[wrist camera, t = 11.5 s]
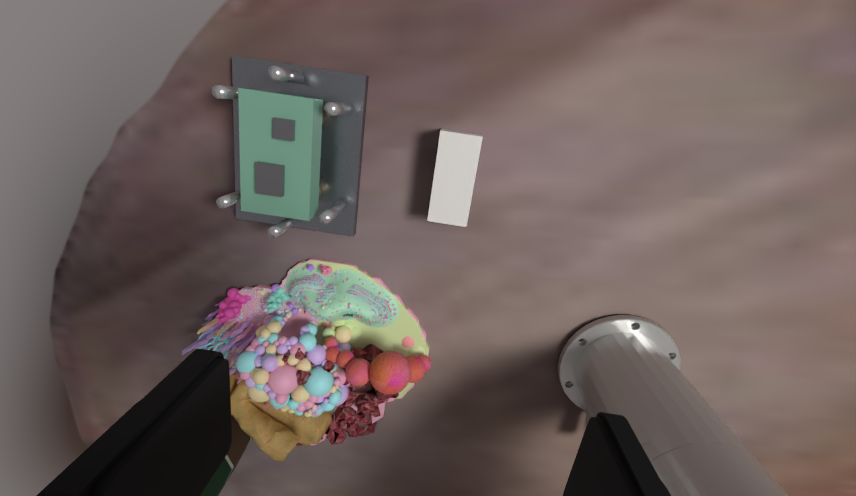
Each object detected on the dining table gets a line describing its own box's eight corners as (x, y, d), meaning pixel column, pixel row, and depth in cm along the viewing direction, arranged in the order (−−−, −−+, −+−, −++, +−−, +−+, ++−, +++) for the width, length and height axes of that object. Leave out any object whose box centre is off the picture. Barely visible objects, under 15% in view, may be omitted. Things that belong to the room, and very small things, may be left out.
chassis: (355, 233, 41) (339, 253, 35) (240, 216, 41) (206, 233, 35) (368, 76, 36) (352, 70, 30) (237, 57, 36) (197, 46, 30)
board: (317, 214, 37) (306, 222, 34) (254, 204, 37) (237, 212, 34) (323, 99, 33) (311, 98, 30) (252, 89, 33) (234, 87, 30)
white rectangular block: (465, 216, 39) (466, 226, 36) (429, 211, 39) (427, 220, 36) (480, 134, 37) (482, 136, 33) (441, 128, 37) (440, 130, 33)
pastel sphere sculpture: (347, 462, 52) (325, 534, 43) (183, 371, 48) (123, 428, 40) (459, 327, 44) (460, 380, 35) (273, 208, 41) (223, 234, 32)
